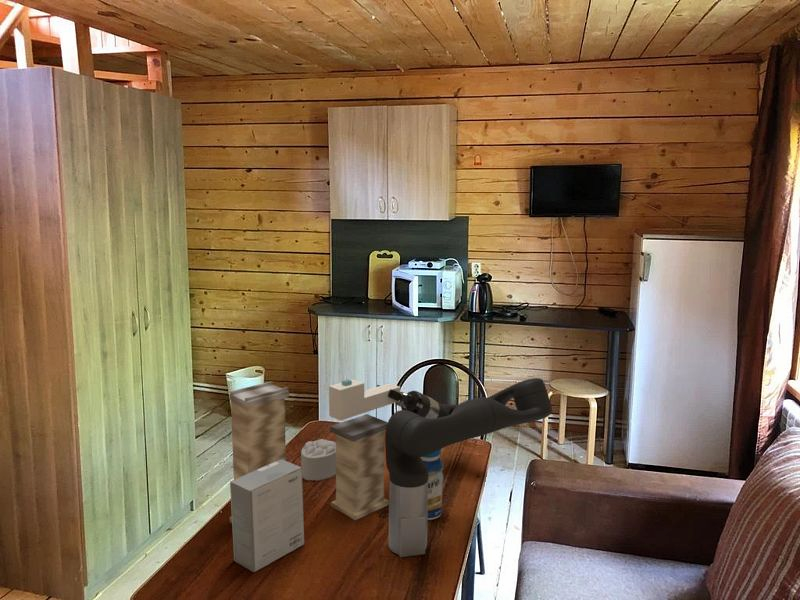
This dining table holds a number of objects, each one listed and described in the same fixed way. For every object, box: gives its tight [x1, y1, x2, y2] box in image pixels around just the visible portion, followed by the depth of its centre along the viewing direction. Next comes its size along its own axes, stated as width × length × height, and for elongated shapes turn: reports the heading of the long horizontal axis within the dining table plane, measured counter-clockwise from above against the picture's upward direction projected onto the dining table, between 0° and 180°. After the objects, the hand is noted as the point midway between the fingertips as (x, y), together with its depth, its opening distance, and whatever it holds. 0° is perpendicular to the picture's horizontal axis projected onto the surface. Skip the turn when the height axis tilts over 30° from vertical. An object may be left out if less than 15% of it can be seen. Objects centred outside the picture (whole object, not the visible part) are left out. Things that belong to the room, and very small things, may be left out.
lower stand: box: [329, 414, 389, 521], centre depth 175 cm, size 13×10×23 cm
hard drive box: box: [229, 459, 305, 573], centre depth 153 cm, size 16×8×20 cm, turn 141°
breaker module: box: [328, 379, 401, 421], centre depth 173 cm, size 21×4×9 cm, turn 134°
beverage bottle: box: [421, 449, 444, 521], centre depth 172 cm, size 8×8×20 cm
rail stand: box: [229, 380, 290, 524], centre depth 166 cm, size 13×9×35 cm
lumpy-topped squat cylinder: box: [300, 438, 336, 482], centre depth 197 cm, size 10×13×9 cm
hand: (383, 390), depth 178 cm, fingers closed on breaker module, 4 cm apart
